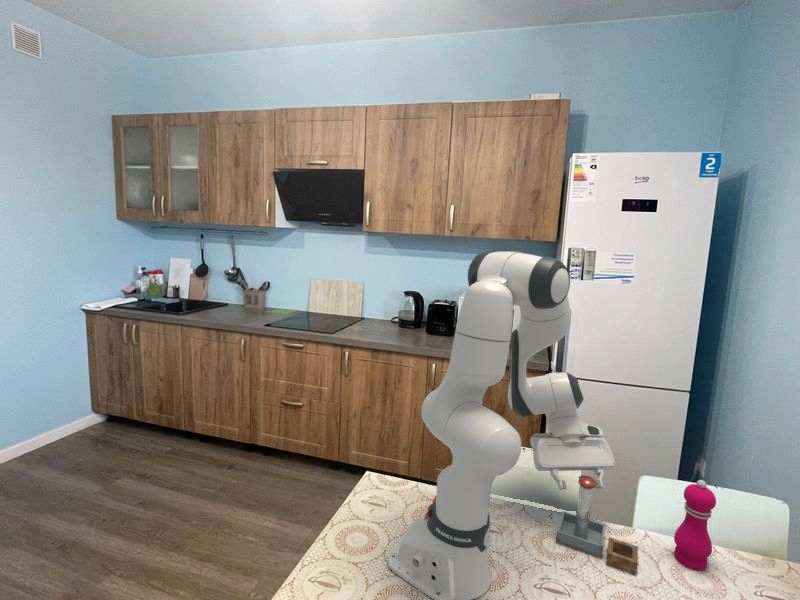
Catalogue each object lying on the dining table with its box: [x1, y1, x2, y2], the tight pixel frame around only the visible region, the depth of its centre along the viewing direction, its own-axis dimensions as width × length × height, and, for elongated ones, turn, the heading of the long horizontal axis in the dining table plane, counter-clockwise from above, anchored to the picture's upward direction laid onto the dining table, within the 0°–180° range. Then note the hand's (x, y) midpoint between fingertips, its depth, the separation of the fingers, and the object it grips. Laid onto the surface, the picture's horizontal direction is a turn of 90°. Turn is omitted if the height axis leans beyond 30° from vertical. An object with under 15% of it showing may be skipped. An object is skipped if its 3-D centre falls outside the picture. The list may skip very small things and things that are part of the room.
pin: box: [574, 474, 596, 540], centre depth 103 cm, size 4×4×15 cm
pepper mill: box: [673, 479, 717, 571], centre depth 97 cm, size 7×7×20 cm
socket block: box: [605, 536, 639, 576], centre depth 97 cm, size 6×6×3 cm
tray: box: [556, 510, 606, 560], centre depth 104 cm, size 10×9×3 cm
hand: (581, 488), depth 105 cm, fingers open, 8 cm apart
